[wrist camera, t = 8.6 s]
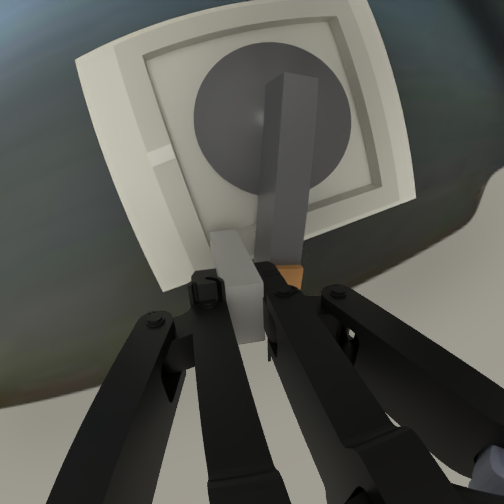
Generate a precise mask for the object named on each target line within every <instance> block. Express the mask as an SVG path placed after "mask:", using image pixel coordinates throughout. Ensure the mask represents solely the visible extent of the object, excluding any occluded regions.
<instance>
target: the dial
mask: <svg viewBox="0 0 504 504" xmlns="http://www.w3.org/2000/svg"><path fill="white" fill-rule="evenodd" d="M194 130H195V135H196V139H197V142H198V145H199V147H200V149H201V151H202V153H203V155H204V157H205V158H206V160H207V161H208V163H209V164H210V165H211V166H212V167H213V169H214V170H215V171H216V172H217V173H218V174H219V175H220V176H221V177H222V178H223V179H225V180H226V181H228V182H229V183H230V184H232V185H233V186H235V187H237V188H239V189H241V190H243V191H246V192H249V193H251V194H255V195H258V208H257V222H256V236H255V250H254V263H256V262H264V261H269V262H271V263H273V264H274V265H275V266H276V267H277V269H278V271H279V272H280V273H281V275H282V276H283V278H284V279H285V281H286V282H287V284H288V285H292V286H295V287H297V288H298V289H299V290H300V289H301V283H302V276H303V269H304V268H303V267H302V266H301V265H300V264H301V257H302V249H303V242H304V234H305V226H306V217H307V209H308V200H309V191H310V189H311V188H313V187H315V186H316V185H318V184H320V183H321V182H322V181H323V180H325V179H326V178H327V177H328V176H329V175H330V174H331V173H332V172H333V171H334V170H335V168H336V167H337V166H338V164H339V163H340V161H341V159H342V158H343V156H344V154H345V151H346V149H347V146H348V142H349V139H350V133H351V111H350V106H349V101H348V98H347V95H346V93H345V90H344V88H343V86H342V84H341V82H340V81H339V79H338V78H337V76H336V75H335V74H334V72H333V71H332V70H331V69H330V68H329V67H328V66H327V65H326V64H325V63H324V62H323V61H322V60H320V59H319V58H318V57H316V56H315V55H313V54H312V53H310V52H308V51H306V50H304V49H302V48H299V47H296V46H293V45H289V44H285V43H278V42H261V43H255V44H250V45H247V46H244V47H241V48H239V49H237V50H234V51H232V52H231V53H229V54H228V55H226V56H224V57H223V58H222V59H221V60H220V61H218V62H217V63H216V64H215V65H214V66H213V67H212V69H211V70H210V71H209V72H208V73H207V75H206V77H205V78H204V80H203V81H202V84H201V86H200V88H199V90H198V93H197V97H196V100H195V106H194Z"/></svg>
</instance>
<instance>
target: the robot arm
mask: <svg viewBox="0 0 504 504" xmlns="http://www.w3.org/2000/svg"><path fill="white" fill-rule="evenodd" d="M209 233H210V244H211V253H212V263H213V269H206V270H198V271H195V272H194V273H193V274H192V276H191V281H190V282H189V284H188V291H189V297H190V303H191V309H190V310H189V311H188V312H186V313H185V314H183V315H180V316H178V317H175V318H173V316H172V315H171V314H170V313H168V312H166V311H152V312H149V313H147V314H145V315H143V316H142V317H141V318H140V319H139V320H138V322H137V323H136V325H135V327H134V328H133V330H132V332H131V333H130V335H129V337H128V339H127V340H126V342H125V344H124V346H123V347H122V349H121V351H120V353H119V354H118V356H117V358H116V360H115V362H114V363H113V365H112V367H111V369H110V371H109V372H108V374H107V376H106V378H105V380H104V382H103V384H102V385H101V387H100V389H99V391H98V393H97V395H96V397H95V399H94V401H93V403H92V405H91V406H90V408H89V410H88V412H87V415H86V416H85V418H84V420H83V422H82V424H81V426H80V429H79V431H78V433H77V435H76V437H75V439H74V441H73V443H72V445H71V447H70V449H69V451H68V454H67V456H66V458H65V460H64V462H63V465H62V467H61V469H60V471H59V474H58V476H57V478H56V481H55V483H54V485H53V488H52V490H51V493H50V495H49V497H48V500H47V502H46V504H152V501H153V497H154V493H155V489H156V485H157V481H158V477H159V473H160V469H161V464H162V461H163V457H164V453H165V449H166V446H167V442H168V438H169V434H170V431H171V427H172V423H173V419H174V416H175V412H176V408H177V404H178V401H179V398H180V394H181V390H182V387H183V383H184V379H185V376H186V369H189V368H192V367H195V371H196V381H197V390H198V391H197V392H198V401H199V410H200V419H201V427H202V435H203V442H204V450H205V456H206V462H207V470H208V477H209V478H208V479H209V480H208V482H207V487H208V495H209V501H210V504H291V502H290V499H289V496H288V493H287V490H286V488H285V485H284V482H283V479H282V477H281V475H280V473H279V471H278V470H277V469H276V468H275V467H274V464H273V461H272V458H271V455H270V452H269V449H268V446H267V442H266V439H265V436H264V433H263V429H262V426H261V423H260V420H259V417H258V413H257V410H256V406H255V403H254V399H253V396H252V393H251V389H250V386H249V382H248V379H247V375H246V372H245V368H244V365H243V361H242V358H241V354H240V350H239V347H238V345H239V344H245V343H252V342H257V341H264V340H265V332H266V335H267V337H268V361H271V357H272V359H273V362H274V364H275V367H276V369H277V372H278V374H279V377H280V379H281V382H282V384H283V387H284V389H285V392H286V394H287V397H288V399H289V402H290V404H291V407H292V409H293V412H294V414H295V417H296V419H297V421H298V424H299V426H300V429H301V431H302V434H303V436H304V438H305V441H306V443H307V446H308V448H309V450H310V452H311V455H312V457H313V460H314V462H315V465H316V467H317V469H318V472H319V474H320V476H321V479H322V481H323V483H324V486H325V490H326V500H327V504H504V389H503V388H502V387H500V386H499V385H497V384H496V383H495V382H493V381H492V380H490V379H489V378H487V377H486V376H484V375H483V374H481V373H480V372H478V371H477V370H476V369H474V368H473V367H471V366H469V365H468V364H467V363H465V362H464V361H462V360H461V359H459V358H458V357H456V356H455V355H453V354H452V353H450V352H449V351H447V350H446V349H444V348H443V347H441V346H440V345H438V344H436V343H435V342H433V341H432V340H430V339H429V338H427V337H425V336H424V335H423V334H421V333H420V332H418V331H417V330H415V329H413V328H412V327H411V326H409V325H407V324H406V323H404V322H403V321H401V320H400V319H398V318H397V317H395V316H394V315H392V314H390V313H389V312H387V311H386V310H384V309H383V308H381V307H379V306H378V305H376V304H375V303H373V302H372V301H370V300H368V299H367V298H365V297H364V296H362V295H361V294H359V293H357V292H356V291H354V290H353V289H351V288H349V287H347V286H343V285H338V284H337V285H336V284H335V285H330V286H327V287H325V288H323V290H322V291H321V296H304V295H303V293H302V292H301V291H300V290H299V289H298V288H297V287H295V286H292V285H288V284H287V282H286V281H285V279H284V278H283V276H282V275H281V273H280V272H279V271H278V269H277V267H276V266H275V265H274V264H273V263H271V262H269V261H264V262H256V263H253V261H252V259H251V258H250V256H249V254H248V252H247V250H246V248H245V246H244V244H243V242H242V240H241V238H240V236H239V234H238V233H237V231H236V229H232V230H223V231H214V232H209ZM350 329H351V330H352V331H353V332H354V333H355V336H354V338H352V337H351V336H350V335H349V330H350ZM385 412H386V413H387V414H388V415H389V416H390V417H391V418H392V419H394V421H396V422H397V423H398V424H399V425H400V426H401V427H397V426H395V425H394V424H393V423H392V422H391V421H390V419H389V418H388V416H387V415H386V413H385ZM429 451H430V452H431V453H432V454H433V455H434V456H435V457H437V458H438V459H439V460H440V461H441V462H443V463H444V464H445V465H447V466H448V467H449V468H451V469H452V470H454V471H456V472H458V473H459V474H461V475H463V476H466V477H468V478H471V479H472V480H471V481H470V482H469V486H468V487H469V488H467V487H463V486H459V485H456V484H453V483H450V481H449V480H448V478H447V477H446V475H445V474H444V472H443V471H442V469H441V468H440V467H439V465H438V464H437V462H436V461H435V459H434V458H433V457H432V455H431V454H430V452H429Z"/></svg>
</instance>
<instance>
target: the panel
mask: <svg viewBox="0 0 504 504" xmlns="http://www.w3.org/2000/svg"><path fill="white" fill-rule="evenodd" d="M261 42H278V43H285V44H289V45H293V46H296V47H299V48H302V49H304V50H306V51H308V52H310V53H312V54H313V55H315V56H316V57H318V58H319V59H320V60H322V61H323V62H324V63H325V64H326V65H327V66H328V67H329V68H330V69H331V70H332V71H333V72H334V74H335V75H336V76H337V78H338V79H339V81H340V82H341V84H342V86H343V88H344V90H345V93H346V95H347V98H348V101H349V106H350V111H351V133H350V139H349V142H348V146H347V149H346V151H345V154H344V156H343V158H342V159H341V161H340V163H339V164H338V166H337V167H336V168H335V170H334V171H333V172H332V173H331V174H330V175H329V176H328V177H327V178H326V179H325V180H323V181H322V182H321V183H320V184H318V185H316V186H315V187H313V188H311V189H310V191H309V200H308V209H307V217H306V226H305V234H304V240H306V239H309V238H312V237H314V236H317V235H320V234H322V233H325V232H328V231H330V230H333V229H336V228H338V227H341V226H344V225H346V224H349V223H352V222H354V221H357V220H360V219H362V218H365V217H368V216H370V215H373V214H376V213H378V212H381V211H383V210H386V209H389V208H391V207H394V206H397V205H399V204H402V203H404V202H407V201H410V200H412V199H415V198H416V193H415V184H414V175H413V168H412V161H411V154H410V148H409V142H408V136H407V131H406V126H405V121H404V116H403V111H402V107H401V103H400V99H399V94H398V91H397V87H396V83H395V79H394V76H393V72H392V69H391V65H390V62H389V59H388V56H387V52H386V49H385V46H384V43H383V41H382V38H381V35H380V32H379V29H378V27H377V24H376V21H375V19H374V16H373V14H372V11H371V9H370V7H369V4H368V2H367V0H253V1H247V2H241V3H235V4H229V5H224V6H220V7H215V8H210V9H206V10H202V11H198V12H194V13H190V14H187V15H183V16H180V17H176V18H173V19H170V20H167V21H164V22H161V23H158V24H155V25H152V26H149V27H146V28H144V29H141V30H138V31H136V32H133V33H131V34H128V35H126V36H123V37H121V38H119V39H116V40H114V41H112V42H110V43H107V44H105V45H103V46H101V47H99V48H97V49H95V50H93V51H91V52H89V53H87V54H85V55H83V56H81V57H79V58H77V59H76V60H75V62H76V66H77V70H78V74H79V78H80V82H81V85H82V89H83V93H84V96H85V100H86V103H87V106H88V110H89V113H90V116H91V119H92V123H93V126H94V129H95V132H96V135H97V138H98V141H99V144H100V146H101V149H102V152H103V155H104V158H105V161H106V163H107V166H108V169H109V171H110V174H111V177H112V179H113V182H114V184H115V187H116V189H117V192H118V194H119V197H120V199H121V202H122V204H123V207H124V209H125V211H126V214H127V216H128V218H129V221H130V223H131V225H132V228H133V230H134V232H135V234H136V237H137V239H138V241H139V243H140V245H141V248H142V250H143V252H144V254H145V256H146V258H147V260H148V263H149V265H150V267H151V269H152V271H153V273H154V275H155V277H156V279H157V281H158V283H159V285H160V287H161V289H162V291H163V292H165V291H168V290H170V289H173V288H176V287H179V286H181V285H184V284H187V283H189V282H190V281H191V276H192V274H193V273H194V272H195V271H198V270H206V269H213V263H212V253H211V244H210V233H209V232H214V231H223V230H232V229H236V231H237V233H238V234H239V236H240V238H241V240H242V242H243V244H244V246H245V248H246V250H247V252H248V254H249V256H250V258H251V259H254V250H255V236H256V222H257V208H258V195H255V194H251V193H249V192H246V191H243V190H241V189H239V188H237V187H235V186H233V185H232V184H230V183H229V182H228V181H226V180H225V179H223V178H222V177H221V176H220V175H219V174H218V173H217V172H216V171H215V170H214V169H213V167H212V166H211V165H210V164H209V163H208V161H207V160H206V158H205V157H204V155H203V153H202V151H201V149H200V147H199V145H198V142H197V139H196V135H195V130H194V106H195V100H196V97H197V93H198V90H199V88H200V86H201V84H202V81H203V80H204V78H205V77H206V75H207V73H208V72H209V71H210V70H211V69H212V67H213V66H214V65H215V64H216V63H217V62H218V61H220V60H221V59H222V58H223V57H224V56H226V55H228V54H229V53H231V52H232V51H234V50H237V49H239V48H241V47H244V46H247V45H250V44H255V43H261Z"/></svg>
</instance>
